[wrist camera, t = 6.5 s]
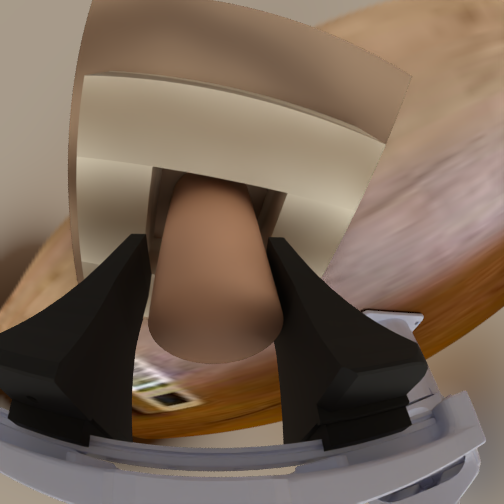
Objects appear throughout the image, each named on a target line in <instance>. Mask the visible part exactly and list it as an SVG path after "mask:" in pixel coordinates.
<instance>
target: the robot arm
mask: <svg viewBox="0 0 504 504" xmlns="http://www.w3.org/2000/svg"><path fill="white" fill-rule="evenodd" d="M266 254H267V258H268V261H269V265H270V268H271V272H272V276H273V279H274V283H275V286H276V290H277V294H278V297H279V301H280V304H281V308H282V312H283V326H282V329H281V331H280V333H279V335H278V337H277V338H276V339H275V340H274V344H275V349H276V355H277V363H278V372H279V382H280V393H281V405H282V419H283V438H284V439H283V440H284V444H283V445H273V446H261V447H244V448H187V447H169V446H158V445H149V444H140V443H133V441H132V384H133V370H134V359H135V351H136V345H137V340H138V336H139V332H140V328H141V324H142V320H143V316H144V312H145V308H146V305H147V301H148V297H149V290H150V284H151V276H152V273H151V266H150V259H149V252H148V245H147V237H146V234H130V235H129V236H128V237H127V238H126V239H125V240H124V241H123V242H122V243H121V244H120V245H119V246H118V247H117V248H116V249H115V250H114V251H113V252H112V253H111V254H110V255H109V256H108V257H107V258H106V259H105V260H104V261H103V262H102V263H101V264H100V265H99V266H98V267H97V268H96V269H95V270H94V271H93V272H91V273H90V274H89V275H88V276H87V277H86V278H85V279H84V280H83V281H82V282H80V283H79V284H78V285H77V286H76V287H74V288H73V289H72V290H71V291H69V292H68V293H67V294H65V295H64V296H63V297H61V298H60V299H58V300H57V301H56V302H54V303H53V304H51V305H50V306H48V307H47V308H46V309H44V310H42V311H41V312H39V313H38V314H36V315H34V316H33V317H31V318H29V319H27V320H26V321H24V322H22V323H20V324H18V325H16V326H14V327H12V328H10V329H8V330H6V331H4V332H2V333H0V388H1V389H2V390H3V391H4V392H5V393H6V394H7V395H8V396H9V397H10V398H11V399H12V402H11V406H10V410H9V411H8V410H6V409H3V408H1V407H0V473H2V474H4V475H5V476H7V477H9V478H11V479H13V480H15V481H17V482H19V483H21V484H23V485H25V486H27V487H29V488H31V489H33V490H36V491H38V492H40V493H42V494H45V495H47V496H50V497H52V498H54V499H57V500H60V501H62V502H65V503H68V504H364V503H367V502H368V503H369V504H461V503H460V498H461V497H462V495H463V494H464V493H465V491H466V490H467V489H468V487H469V486H470V485H471V483H472V482H473V480H474V479H475V478H476V476H477V474H478V472H479V470H480V469H479V466H480V464H481V460H480V456H479V453H478V450H477V448H478V447H479V446H481V445H482V444H484V443H485V442H486V438H485V435H484V433H483V430H482V427H481V425H480V422H479V420H478V417H477V415H476V412H475V410H474V407H473V405H472V403H471V400H470V398H469V396H468V393H467V391H462V392H460V393H457V394H455V395H451V394H450V395H448V396H447V397H446V398H444V397H443V396H442V395H441V393H440V391H439V389H438V386H437V384H436V382H435V380H434V377H433V375H432V373H431V371H430V368H429V366H428V364H427V362H426V360H425V358H424V356H423V354H422V352H421V349H420V347H419V345H418V343H417V341H416V339H415V337H414V335H413V333H412V332H413V330H414V329H415V328H416V327H417V326H418V325H419V323H420V322H421V321H422V320H423V318H424V317H423V315H422V314H416V313H399V312H384V311H371V310H366V311H364V312H361V311H359V310H358V309H356V308H355V307H353V306H352V305H351V304H349V303H348V302H347V301H346V300H344V299H343V298H342V297H341V296H340V295H338V294H337V293H336V292H335V291H334V290H332V289H331V288H330V287H329V286H328V285H327V284H326V283H325V282H324V281H323V280H322V279H321V278H320V277H319V276H318V275H317V274H316V273H315V272H314V271H313V270H312V269H311V268H310V267H309V266H308V265H307V264H306V263H305V261H304V260H303V259H302V258H301V257H300V256H299V255H298V253H297V252H296V251H295V250H294V249H293V248H292V246H291V245H290V244H289V243H288V242H287V241H286V239H285V238H284V237H268V243H267V249H266ZM99 459H101V460H99ZM103 460H106V461H111V462H117V463H122V464H128V465H135V466H142V467H151V468H159V469H171V470H186V471H244V470H260V469H271V468H281V467H288V466H296V465H300V466H297V467H296V468H295V472H293V473H291V474H287V475H274V476H248V477H189V476H171V475H157V474H149V473H140V472H133V471H125V470H120V469H119V468H117V467H116V466H115V465H114V464H113V463H109V462H106V461H103ZM303 464H304V465H303Z"/></svg>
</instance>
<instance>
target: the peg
mask: <svg viewBox="0 0 504 504" xmlns="http://www.w3.org/2000/svg"><path fill="white" fill-rule="evenodd" d="M282 326H283V312H282V308H281V304H280V301H279V297H278V294H277V290H276V286H275V283H274V279H273V276H272V272H271V268H270V265H269V261H268V258H267V254H266V251H265V247H264V244H263V240H262V236H261V233H260V229H259V226H258V222H257V219H256V215H255V212H254V208H253V205H252V202H251V198H250V195H249V191H248V188H247V186H246V184H245V183H240V182H235V181H230V180H225V179H220V178H215V177H210V176H205V175H200V174H194V173H189V172H187V173H186V174H184V175H183V176H182V177H181V178H180V179H179V181H178V182H177V183H176V185H175V187H174V190H173V193H172V197H171V201H170V205H169V210H168V214H167V218H166V223H165V227H164V232H163V237H162V242H161V247H160V252H159V257H158V262H157V268H156V273H155V279H154V285H153V291H152V297H151V303H150V310H149V317H148V327H149V331H150V333H151V335H152V337H153V339H154V340H155V342H156V343H157V344H158V345H159V346H160V347H162V348H163V349H164V350H165V351H167V352H169V353H170V354H172V355H174V356H176V357H179V358H181V359H184V360H188V361H192V362H197V363H205V364H221V363H229V362H235V361H239V360H243V359H246V358H248V357H251V356H253V355H255V354H257V353H259V352H261V351H262V350H264V349H265V348H267V347H268V346H269V345H270V344H272V342H273V341H274V340H275V339H276V338H277V337H278V335H279V333H280V331H281V329H282Z"/></svg>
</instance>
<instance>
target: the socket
mask: <svg viewBox="0 0 504 504" xmlns="http://www.w3.org/2000/svg"><path fill="white" fill-rule="evenodd" d="M411 78H412V76H411V75H410V74H408V73H406V72H405V71H403V70H401V69H400V68H398V67H396V66H394V65H393V64H391V63H389V62H387V61H386V60H384V59H382V58H380V57H378V56H376V55H374V54H372V53H370V52H369V51H367V50H365V49H362V48H360V47H358V46H356V45H354V44H352V43H350V42H348V41H345V40H343V39H341V38H339V37H336V36H334V35H332V34H329V33H327V32H324V31H322V30H319V29H316V28H314V27H311V26H308V25H306V24H303V23H300V22H297V21H294V20H291V19H288V18H285V17H281V16H278V15H275V14H271V13H268V12H264V11H260V10H256V9H252V8H248V7H244V6H239V5H235V4H230V3H225V2H219V1H213V0H92V4H91V7H90V10H89V13H88V17H87V21H86V25H85V29H84V33H83V37H82V41H81V46H80V51H79V56H78V61H77V67H76V73H75V80H74V86H73V94H72V103H71V113H70V114H71V115H70V126H69V145H68V192H69V213H70V226H71V236H72V246H73V254H74V261H75V268H76V275H77V281H78V284H79V283H80V282H82V281H83V280H84V279H85V278H86V277H87V276H88V275H89V274H90V273H91V272H93V271H94V270H95V269H96V268H97V267H98V266H99V265H100V264H101V263H102V262H103V261H104V260H105V259H106V258H107V257H108V256H109V255H110V254H111V253H112V252H113V251H114V250H115V249H116V248H117V247H118V246H119V245H120V244H121V243H122V242H123V241H124V240H125V239H126V238H127V237H128V236H129V235H130V234H146V237H147V245H148V252H149V259H150V266H151V273H152V276H151V284H150V290H149V297H148V301H147V305H146V308H145V312H144V316H143V319H148V317H149V310H150V303H151V297H152V291H153V285H154V279H155V273H156V268H157V262H158V257H159V252H160V247H161V242H162V237H163V232H164V227H165V223H166V218H167V214H168V210H169V205H170V201H171V197H172V193H173V190H174V187H175V185H176V183H177V182H178V181H179V179H180V178H181V177H182V176H183V175H184V174H186V173H187V172H189V173H194V174H200V175H205V176H210V177H215V178H220V179H225V180H230V181H235V182H240V183H245V184H246V186H247V188H248V191H249V195H250V198H251V202H252V205H253V208H254V212H255V215H256V219H257V222H258V226H259V229H260V233H261V236H262V240H263V244H264V247H265V251H266V249H267V243H268V237H284V238H285V239H286V241H287V242H288V243H289V244H290V245H291V246H292V248H293V249H294V250H295V251H296V252H297V253H298V255H299V256H300V257H301V258H302V259H303V260H304V261H305V263H306V264H307V265H308V266H309V267H310V268H311V269H312V270H313V271H314V272H315V273H316V274H317V275H318V276H319V277H320V278H321V277H322V276H323V274H324V272H325V270H326V268H327V266H328V264H329V263H330V261H331V259H332V257H333V255H334V253H335V251H336V249H337V247H338V245H339V243H340V241H341V240H342V238H343V236H344V234H345V232H346V230H347V228H348V226H349V224H350V222H351V220H352V218H353V216H354V213H355V211H356V209H357V207H358V205H359V203H360V201H361V199H362V197H363V195H364V193H365V190H366V188H367V186H368V184H369V182H370V180H371V177H372V175H373V173H374V171H375V168H376V166H377V164H378V162H379V159H380V157H381V155H382V153H383V150H384V148H385V145H386V142H387V140H388V138H389V135H390V133H391V130H392V128H393V126H394V123H395V121H396V118H397V115H398V113H399V110H400V108H401V105H402V103H403V100H404V97H405V95H406V92H407V89H408V86H409V84H410V81H411Z"/></svg>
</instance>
